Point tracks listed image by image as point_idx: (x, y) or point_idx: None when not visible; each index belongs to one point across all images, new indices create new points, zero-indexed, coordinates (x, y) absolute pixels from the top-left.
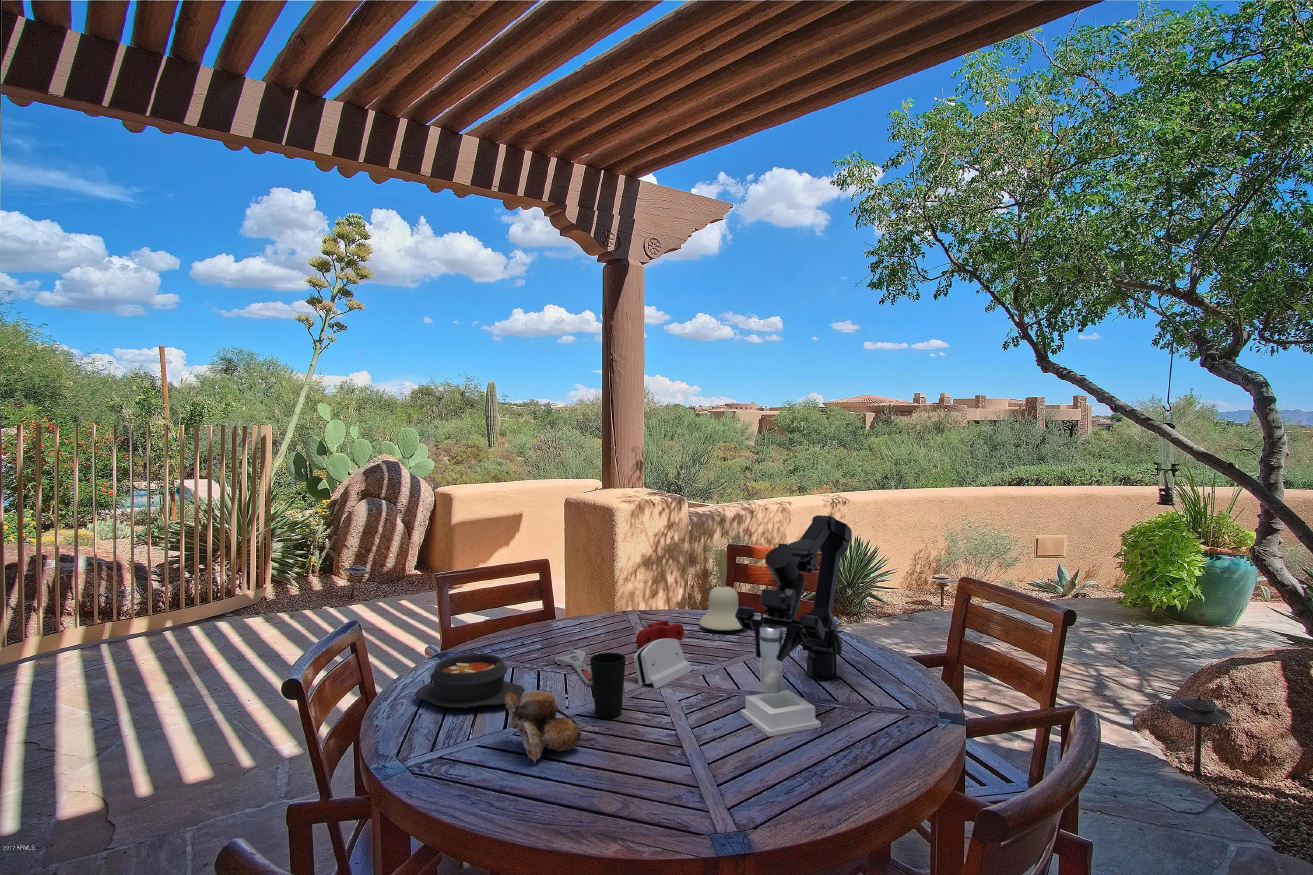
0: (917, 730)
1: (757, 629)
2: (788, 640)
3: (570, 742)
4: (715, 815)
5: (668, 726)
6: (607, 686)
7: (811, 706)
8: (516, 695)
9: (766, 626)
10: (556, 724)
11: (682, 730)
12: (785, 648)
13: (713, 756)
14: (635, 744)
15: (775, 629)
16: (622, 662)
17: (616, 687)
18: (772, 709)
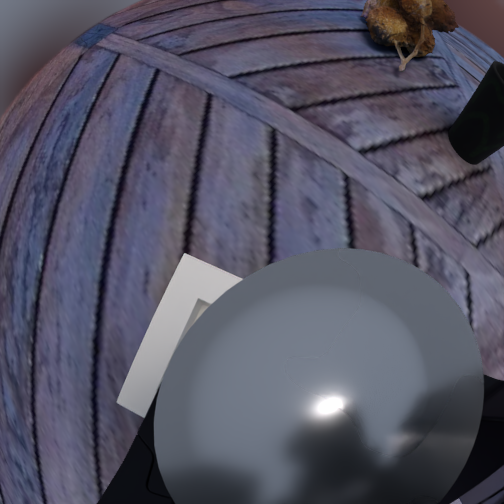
0: (5, 478)
1: (487, 395)
2: (132, 461)
3: (369, 28)
4: (126, 41)
5: (380, 157)
6: (474, 92)
7: (123, 395)
8: (441, 5)
9: (418, 409)
10: (384, 8)
11: (349, 158)
12: (151, 407)
13: (221, 114)
14: (348, 83)
15: (198, 381)
16: (501, 85)
17: (473, 104)
18: (199, 292)
